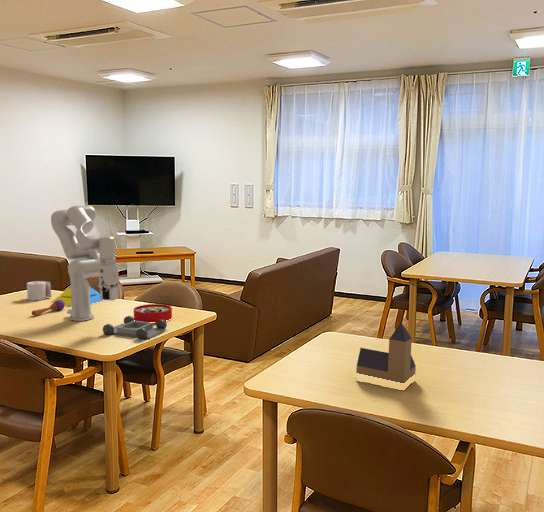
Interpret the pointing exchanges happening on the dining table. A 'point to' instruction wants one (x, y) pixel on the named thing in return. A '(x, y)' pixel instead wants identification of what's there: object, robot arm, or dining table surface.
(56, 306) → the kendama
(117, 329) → the chassis bay
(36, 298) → the toilet tissue
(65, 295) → the pyramid toy
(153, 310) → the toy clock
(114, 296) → the engine block
